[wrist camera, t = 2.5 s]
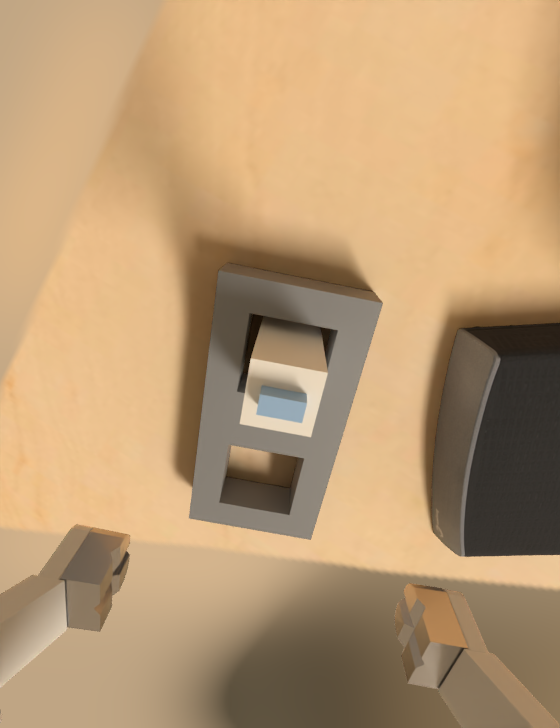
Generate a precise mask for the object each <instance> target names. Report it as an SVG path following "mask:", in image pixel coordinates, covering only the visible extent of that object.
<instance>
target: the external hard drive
mask: <svg viewBox="0 0 560 728" xmlns="http://www.w3.org/2000/svg"><path fill="white" fill-rule="evenodd" d="M432 525H433V533H434V534H435V535H436V536H437V537H438V538H439V539H440V540H441V542H443V543H444V544H445V545H446V546H447V547H448V548H449V549H450V550H452V551H453V552H454V553H455V554H457V555H458V556H465V557H471V556H474V557H475V556H512V555H514V556H515V555H560V323H550V324H534V325H517V326H511V325H510V326H496V327H474V328H462V329H459V330H458V331H457V334H456V338H455V341H454V345H453V348H452V352H451V357H450V361H449V365H448V370H447V374H446V379H445V384H444V389H443V394H442V400H441V405H440V411H439V418H438V424H437V432H436V439H435V448H434V460H433V474H432Z"/></svg>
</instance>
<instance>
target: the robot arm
mask: <svg viewBox="0 0 560 728" xmlns="http://www.w3.org/2000/svg"><path fill="white" fill-rule="evenodd" d="M129 544H130V535H128V534H123V533H118V532H114V531H109V530H104V529H99V528H94V527H88V526H83V525H78V524H76V525H75V526H74V527H73V528H71V529H70V531H69V532H68V534H67V535H66V536H65V538H64V539H63V541H62V542H61V544H60V545H59V547H58V548H57V549H56V551H55V552H54V553H53V555H52V556H51V558H50V559H49V561H48V562H47V563H46V565H45V566H44V568H43V569H42V570H41V572H40V574H39V575H38V576H36V575H31V576H30V577H28V578H26V579H25V580H23V581H21V582H20V583H18V584H16V585H15V586H13V587H11V588H10V589H8V590H7V591H5V592H3V593H1V594H0V687H2V686H3V685H4V684H5V683H6V682H7V681H8V680H10V679H11V678H12V677H13V676H14V675H15V674H17V673H18V672H19V671H20V670H21V669H22V668H23V667H25V666H26V665H27V664H28V663H29V662H30V661H32V660H33V659H34V658H35V657H36V656H37V655H38V654H40V653H41V652H42V651H43V650H44V649H45V648H46V647H48V646H49V645H50V644H51V643H52V642H53V641H55V640H56V639H57V638H58V637H59V636H60V635H61V634H63V633H64V632H65V631H66V630H67V627H69V628H77V629H84V630H92V631H99V632H100V631H101V629H102V627H103V624H104V622H105V620H106V618H107V616H108V614H109V612H110V610H111V607H112V595H114V594H115V593H117V592H118V591H119V590H120V588H121V586H122V583H123V581H124V578H125V575H126V572H127V569H128V564H129V554H128V552H127V551H126V550H127V548H128V546H129ZM404 595H405V598H404V599H402V600H400V601H399V602H398V605H397V607H396V609H395V619H394V620H395V630H396V635H397V638H398V640H399V641H400V642H401V644H402V645H403V646H404V650H403V653H402V655H401V657H402V661H403V666H404V670H405V674H406V679H407V683H409V684H414V685H420V686H424V687H429V688H434V689H439V690H438V692H439V694H440V695H441V697H442V698H443V700H444V701H445V703H446V704H447V706H448V707H449V709H450V710H451V712H452V713H453V715H454V717H455V718H456V720H457V721H458V723H459V724H460V726H461V727H462V728H560V724H559V723H558V722H557V721H556V720H555V719H554V718H553V717H552V716H551V715H550V713H549V712H548V711H547V710H546V709H545V708H544V707H543V706H542V705H541V704H540V703H539V702H538V701H537V699H536V698H535V697H534V696H532V694H531V693H530V692H529V691H528V690H527V689H526V688H525V687H524V686H523V685H522V683H520V681H519V680H518V679H517V678H516V677H515V676H514V675H513V674H512V673H511V672H510V671H509V670H508V668H507V667H506V666H505V665H504V664H503V663H502V662H501V661H500V660H499V659H498V658H497V657H496V656H495V655H494V654H492V653H488V650H487V648H486V646H485V644H484V641H483V639H482V636H481V634H480V632H479V629H478V627H477V625H476V622H475V620H474V618H473V615H472V613H471V611H470V608H469V606H468V604H467V602H466V599H465V597H464V595H463V594H462V593H461V592H457V591H451V590H446V589H442V588H437V587H430V586H423V585H418V584H411V583H409V584H408V585H406V587H405V590H404ZM1 720H2V718H1V712H0V722H1Z"/></svg>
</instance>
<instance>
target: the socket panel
mask: <svg viewBox="0 0 560 728" xmlns="http://www.w3.org/2000/svg"><path fill="white" fill-rule="evenodd" d="M382 304H383V303H382V301H381V300H380V299H379V298H378V296H377V295H376V294H375V293H374V292H372V291H367V290H362V289H357V288H352V287H347V286H342V285H337V284H332V283H327V282H322V281H317V280H312V279H307V278H302V277H297V276H292V275H287V274H282V273H277V272H272V271H266V270H261V269H256V268H251V267H246V266H241V265H236V264H231V263H226V264H225V265H224V266H223V267H222V268H221V269H220V270H219V271H218V279H217V287H216V296H215V304H214V312H213V321H212V329H211V338H210V346H209V354H208V363H207V371H206V379H205V388H204V396H203V405H202V413H201V421H200V430H199V438H198V447H197V455H196V463H195V472H194V480H193V489H192V497H191V505H190V514H189V518H190V519H196V520H201V521H207V522H213V523H218V524H224V525H230V526H235V527H241V528H247V529H252V530H258V531H264V532H269V533H275V534H281V535H286V536H292V537H298V538H303V539H309V540H311V537H312V534H313V531H314V527H315V524H316V521H317V517H318V514H319V511H320V508H321V504H322V501H323V498H324V495H325V491H326V488H327V485H328V481H329V478H330V475H331V472H332V468H333V465H334V462H335V458H336V455H337V452H338V449H339V445H340V442H341V439H342V436H343V432H344V429H345V426H346V422H347V419H348V416H349V413H350V409H351V406H352V403H353V399H354V396H355V393H356V390H357V386H358V383H359V380H360V376H361V373H362V370H363V367H364V363H365V360H366V357H367V354H368V350H369V347H370V344H371V340H372V337H373V334H374V331H375V327H376V324H377V321H378V317H379V314H380V311H381V308H382ZM252 314H257V315H262V316H267V317H272V318H277V319H282V320H287V321H293V322H298V323H303V324H308V325H313V326H318V327H323V328H329V329H331V330H330V334H329V338H328V342H327V346H326V350H325V358H326V364H327V370H328V375H327V378H326V382H325V386H324V390H323V393H322V397H321V401H320V405H319V409H318V412H317V416H316V420H315V424H314V427H313V431H312V435H311V437H307V436H302V435H296V434H291V433H285V432H280V431H275V430H269V429H264V428H259V427H253V426H248V425H242V424H240V418H241V413H242V407H243V401H244V395H245V389H246V383H247V377H248V374H245V373H243V370H244V363H245V357H246V351H247V345H248V339H249V333H250V327H251V320H252ZM231 445H234V446H239V447H244V448H250V449H255V450H261V451H266V452H272V453H277V454H283V455H288V456H294V457H298V460H297V464H296V468H295V472H294V476H293V480H292V483H291V487H290V488H285V487H280V486H274V485H269V484H263V483H258V482H252V481H246V480H241V479H235V478H230V477H226V474H227V468H228V462H229V455H230V449H231Z"/></svg>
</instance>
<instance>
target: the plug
mask: <svg viewBox="0 0 560 728" xmlns="http://www.w3.org/2000/svg"><path fill="white" fill-rule="evenodd" d="M327 375H328V370H327V364H326V358H325V352H324V346H323V340H322V333H321V327H318V326H313V325H308V324H303V323H298V322H293V321H287V320H282V319H277V318H272V317H267V316H263V320H262V323H261V326H260V329H259V333H258V336H257V339H256V343H255V346H254V349H253V352H252V356H251V360H250V365H249V371H248V377H247V383H246V389H245V395H244V401H243V407H242V413H241V418H240V424H242V425H248V426H253V427H259V428H264V429H269V430H275V431H280V432H285V433H291V434H296V435H302V436H307V437H311V435H312V431H313V427H314V424H315V420H316V416H317V412H318V409H319V405H320V401H321V397H322V393H323V390H324V386H325V382H326V378H327Z"/></svg>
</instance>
